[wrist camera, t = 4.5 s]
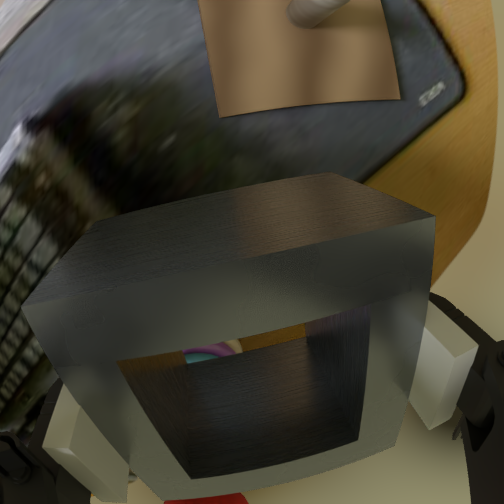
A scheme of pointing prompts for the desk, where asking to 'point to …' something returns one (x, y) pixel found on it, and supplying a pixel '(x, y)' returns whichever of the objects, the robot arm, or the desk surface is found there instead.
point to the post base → (297, 53)
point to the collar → (243, 330)
